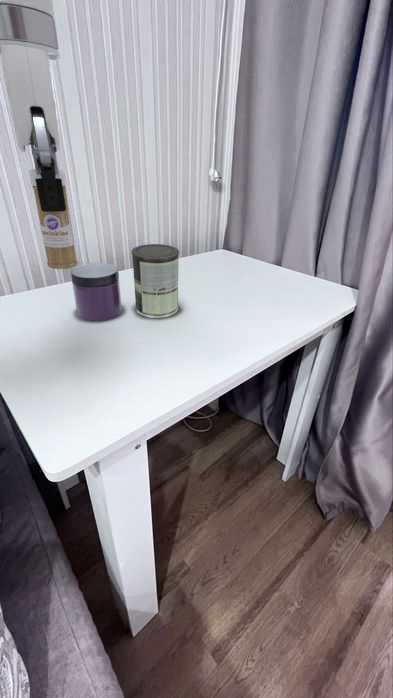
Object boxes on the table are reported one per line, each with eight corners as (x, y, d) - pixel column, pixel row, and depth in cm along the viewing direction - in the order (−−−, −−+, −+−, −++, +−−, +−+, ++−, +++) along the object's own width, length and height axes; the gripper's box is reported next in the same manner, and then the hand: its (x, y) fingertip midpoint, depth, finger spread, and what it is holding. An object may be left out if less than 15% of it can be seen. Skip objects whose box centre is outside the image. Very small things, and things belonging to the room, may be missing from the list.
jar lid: (74, 289, 67) (73, 280, 66) (69, 272, 75) (68, 264, 74) (123, 283, 71) (122, 275, 70) (113, 268, 78) (112, 260, 77)
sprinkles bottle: (48, 271, 50) (27, 170, 43) (47, 262, 53) (28, 167, 46) (80, 268, 52) (65, 171, 44) (77, 259, 55) (63, 168, 48)
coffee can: (126, 310, 79) (121, 250, 71) (155, 296, 86) (153, 241, 78) (159, 323, 74) (157, 260, 66) (187, 307, 81) (188, 250, 73)
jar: (80, 324, 72) (73, 283, 67) (75, 305, 79) (68, 267, 74) (126, 317, 75) (122, 277, 70) (116, 300, 83) (113, 263, 78)
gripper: (-8, 46, 43) (25, 198, 53) (-24, 11, 30) (23, 221, 40) (53, 54, 46) (74, 197, 56) (63, 25, 33) (87, 219, 43)
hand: (52, 206), depth 48 cm, fingers closed on sprinkles bottle, 4 cm apart
